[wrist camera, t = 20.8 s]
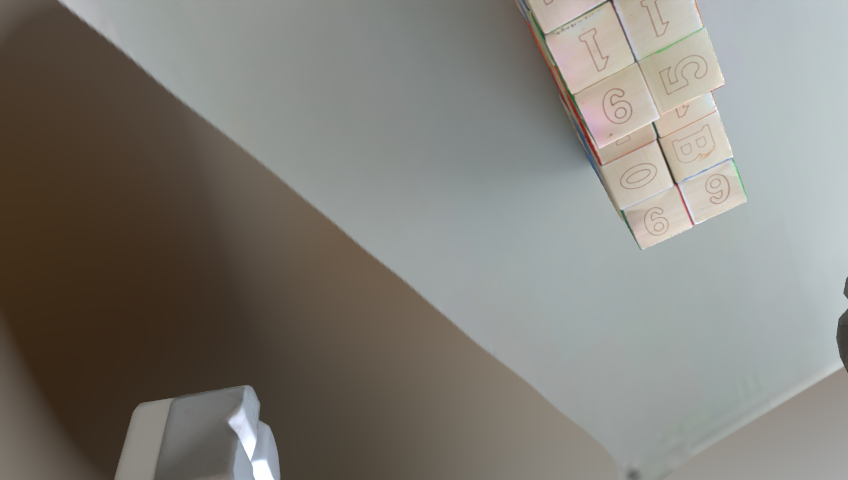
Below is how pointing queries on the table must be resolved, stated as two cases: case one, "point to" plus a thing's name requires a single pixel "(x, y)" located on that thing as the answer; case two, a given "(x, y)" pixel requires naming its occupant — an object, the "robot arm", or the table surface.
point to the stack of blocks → (642, 107)
